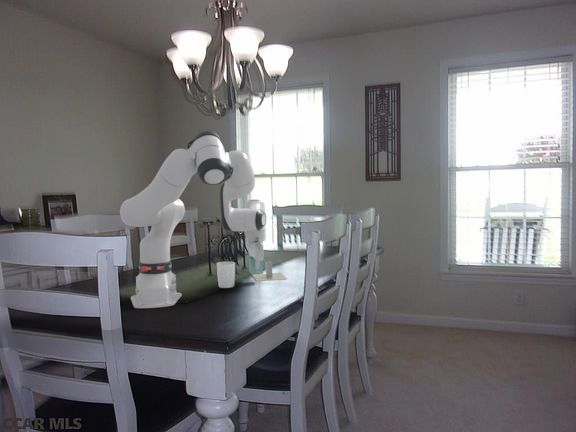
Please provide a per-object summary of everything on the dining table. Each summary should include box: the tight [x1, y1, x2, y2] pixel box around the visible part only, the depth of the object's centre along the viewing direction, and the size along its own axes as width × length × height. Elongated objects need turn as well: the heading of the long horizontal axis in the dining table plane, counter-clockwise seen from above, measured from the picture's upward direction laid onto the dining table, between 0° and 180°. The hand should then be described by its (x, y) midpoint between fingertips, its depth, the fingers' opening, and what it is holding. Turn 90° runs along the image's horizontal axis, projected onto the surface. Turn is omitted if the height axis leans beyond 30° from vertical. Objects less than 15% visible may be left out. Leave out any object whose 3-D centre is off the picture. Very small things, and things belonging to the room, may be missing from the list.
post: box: [251, 261, 288, 282], centre depth 214 cm, size 14×14×7 cm
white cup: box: [216, 261, 236, 289], centre depth 196 cm, size 8×8×10 cm
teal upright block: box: [248, 256, 264, 275], centre depth 203 cm, size 5×5×7 cm
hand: (255, 267), depth 203 cm, fingers closed on teal upright block, 5 cm apart
